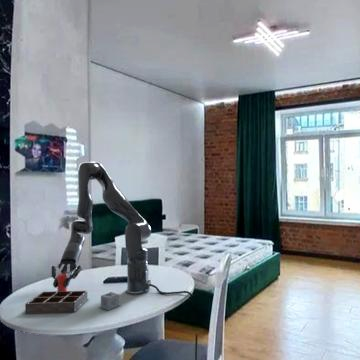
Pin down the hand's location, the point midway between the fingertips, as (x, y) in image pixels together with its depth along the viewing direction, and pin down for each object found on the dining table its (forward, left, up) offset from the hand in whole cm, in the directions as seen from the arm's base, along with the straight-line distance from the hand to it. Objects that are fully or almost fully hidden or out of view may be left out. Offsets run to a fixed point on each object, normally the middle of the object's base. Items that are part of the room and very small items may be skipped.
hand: (60, 286), depth 142 cm
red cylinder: (0, -2, -4) cm, 4 cm away
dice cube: (-27, +14, -4) cm, 31 cm away
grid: (-5, +12, -4) cm, 14 cm away
